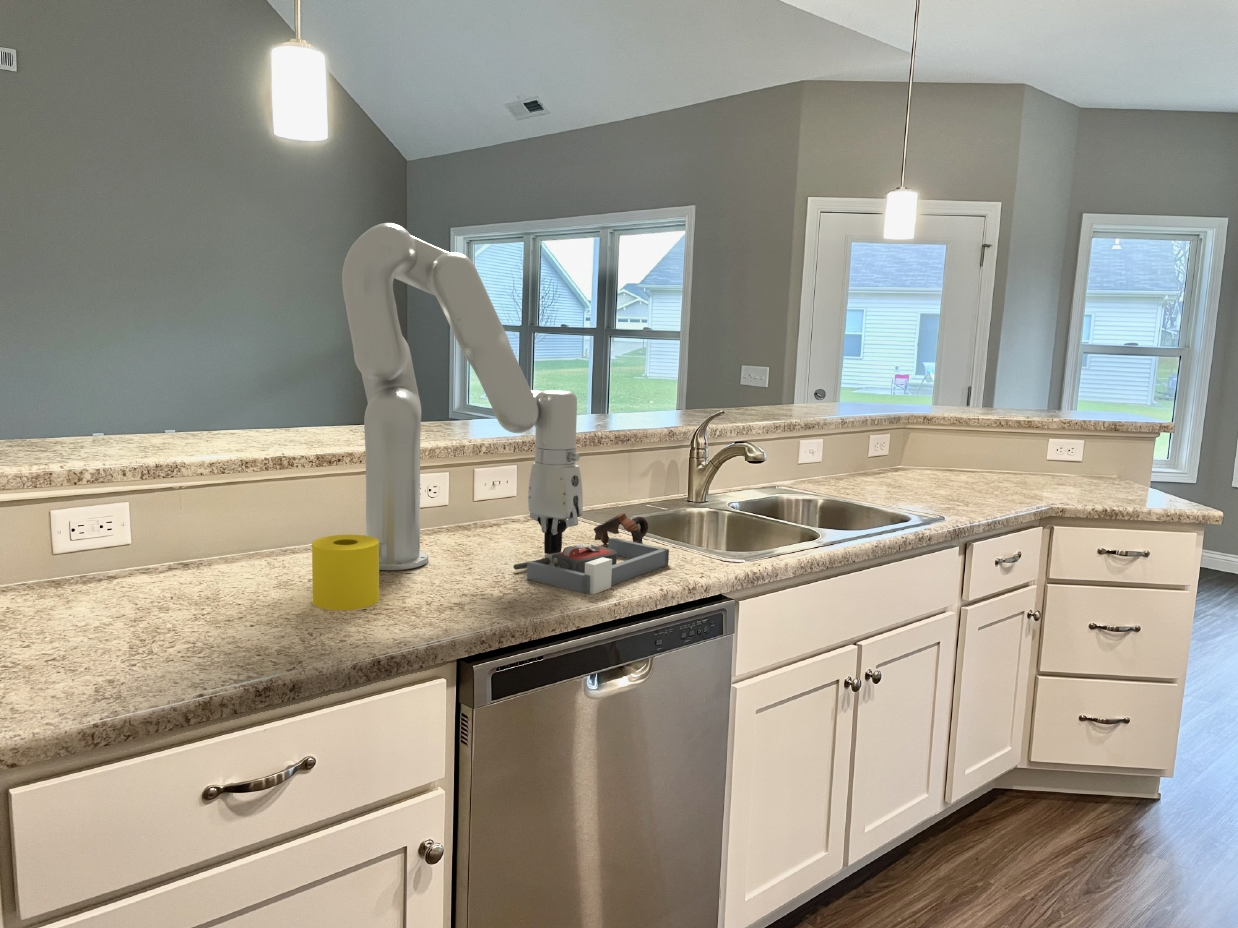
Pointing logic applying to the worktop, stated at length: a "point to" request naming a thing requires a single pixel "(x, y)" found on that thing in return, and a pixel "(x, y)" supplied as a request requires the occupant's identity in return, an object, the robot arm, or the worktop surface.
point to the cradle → (602, 568)
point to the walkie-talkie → (575, 557)
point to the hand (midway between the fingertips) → (552, 552)
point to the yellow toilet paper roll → (345, 572)
